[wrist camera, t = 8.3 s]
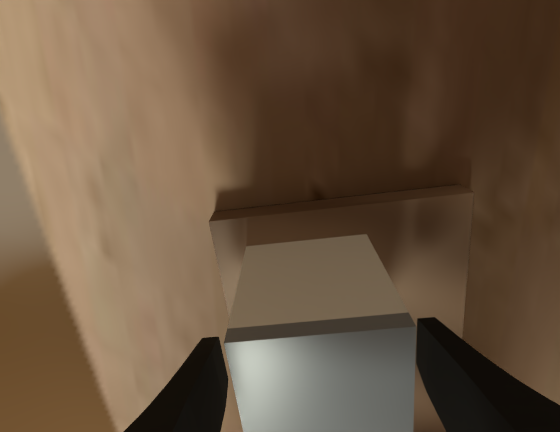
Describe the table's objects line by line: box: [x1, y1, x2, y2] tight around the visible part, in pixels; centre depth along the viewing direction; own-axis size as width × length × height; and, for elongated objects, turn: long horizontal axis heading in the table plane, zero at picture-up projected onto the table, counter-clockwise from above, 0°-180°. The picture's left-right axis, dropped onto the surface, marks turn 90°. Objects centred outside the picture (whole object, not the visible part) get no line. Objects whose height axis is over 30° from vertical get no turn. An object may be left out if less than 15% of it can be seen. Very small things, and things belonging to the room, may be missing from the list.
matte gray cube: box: [224, 234, 416, 432], centre depth 13 cm, size 5×5×6 cm
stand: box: [209, 184, 474, 432], centre depth 16 cm, size 16×11×5 cm
